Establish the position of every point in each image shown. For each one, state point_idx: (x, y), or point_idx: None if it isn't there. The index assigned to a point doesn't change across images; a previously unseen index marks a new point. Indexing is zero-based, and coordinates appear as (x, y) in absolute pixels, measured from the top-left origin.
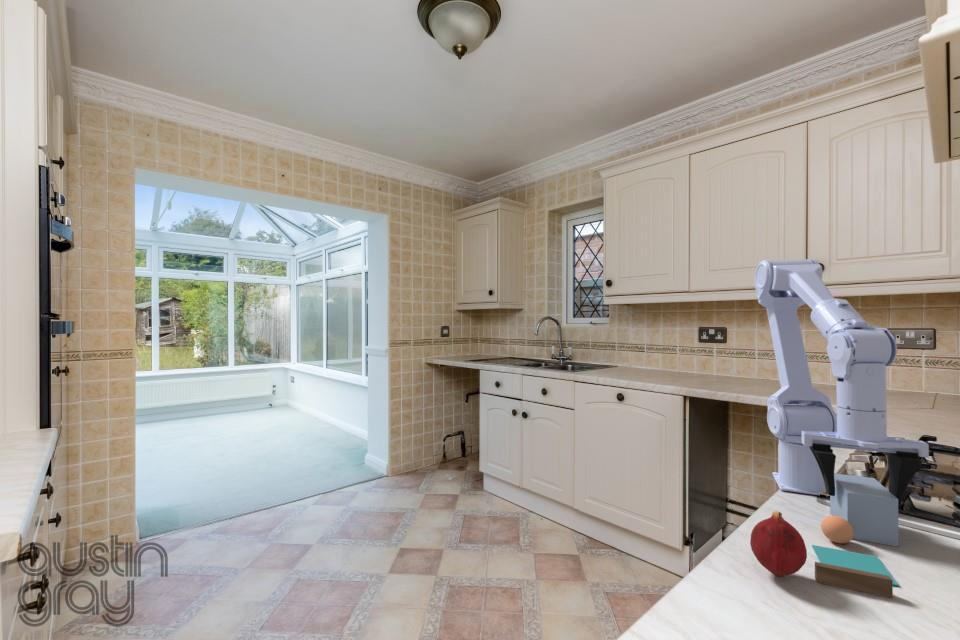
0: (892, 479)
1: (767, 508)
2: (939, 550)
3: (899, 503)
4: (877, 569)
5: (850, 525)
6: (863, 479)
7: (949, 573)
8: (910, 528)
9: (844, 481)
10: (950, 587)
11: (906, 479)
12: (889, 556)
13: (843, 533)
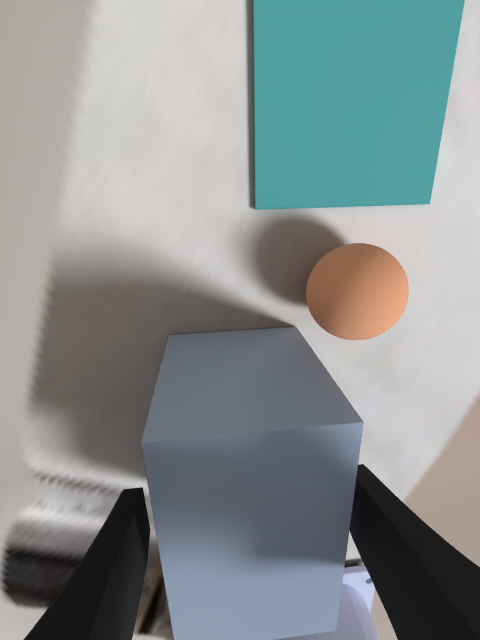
0: (120, 634)
1: (451, 433)
2: (62, 365)
3: (126, 493)
4: (284, 89)
5: (328, 289)
6: (224, 621)
7: (67, 196)
8: (107, 480)
9: (315, 563)
10: (86, 69)
11: (51, 628)
12: (212, 244)
13: (354, 245)
